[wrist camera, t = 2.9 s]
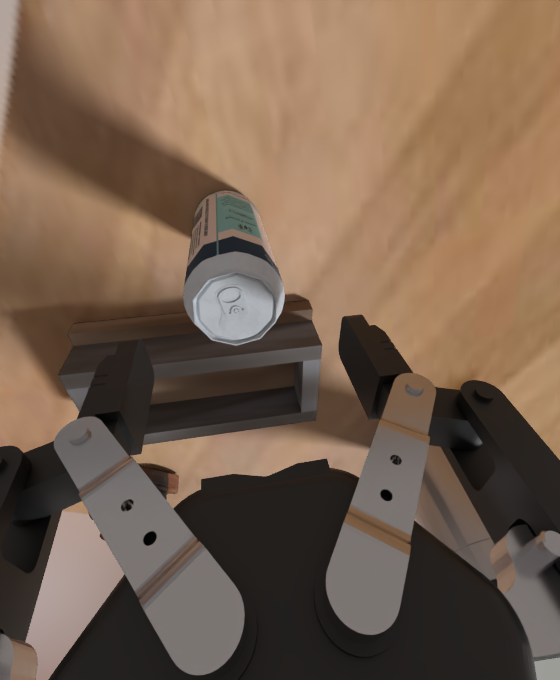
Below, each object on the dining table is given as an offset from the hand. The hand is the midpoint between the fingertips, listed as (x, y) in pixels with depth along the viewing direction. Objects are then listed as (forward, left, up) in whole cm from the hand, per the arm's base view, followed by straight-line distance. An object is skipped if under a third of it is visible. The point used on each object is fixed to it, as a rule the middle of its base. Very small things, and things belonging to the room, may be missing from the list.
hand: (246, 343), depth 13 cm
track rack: (+4, +13, -14) cm, 20 cm away
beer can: (0, 0, -14) cm, 14 cm away
